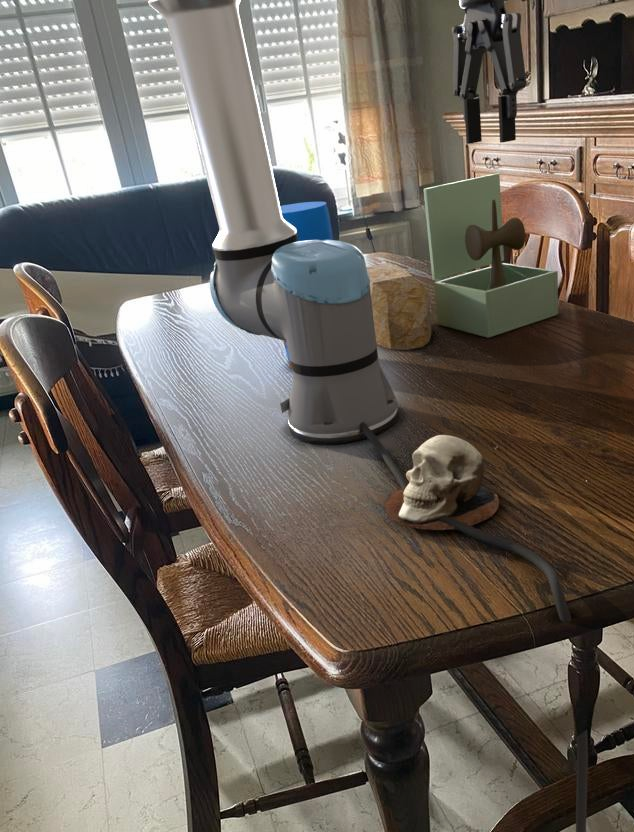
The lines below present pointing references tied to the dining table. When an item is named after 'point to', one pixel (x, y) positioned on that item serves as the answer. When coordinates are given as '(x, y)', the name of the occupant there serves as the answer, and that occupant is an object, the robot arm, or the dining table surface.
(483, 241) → the kendama
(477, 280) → the chest
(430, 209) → the chest lid
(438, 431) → the dining table surface
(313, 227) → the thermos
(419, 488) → the skull
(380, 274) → the bread
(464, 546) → the dining table surface
